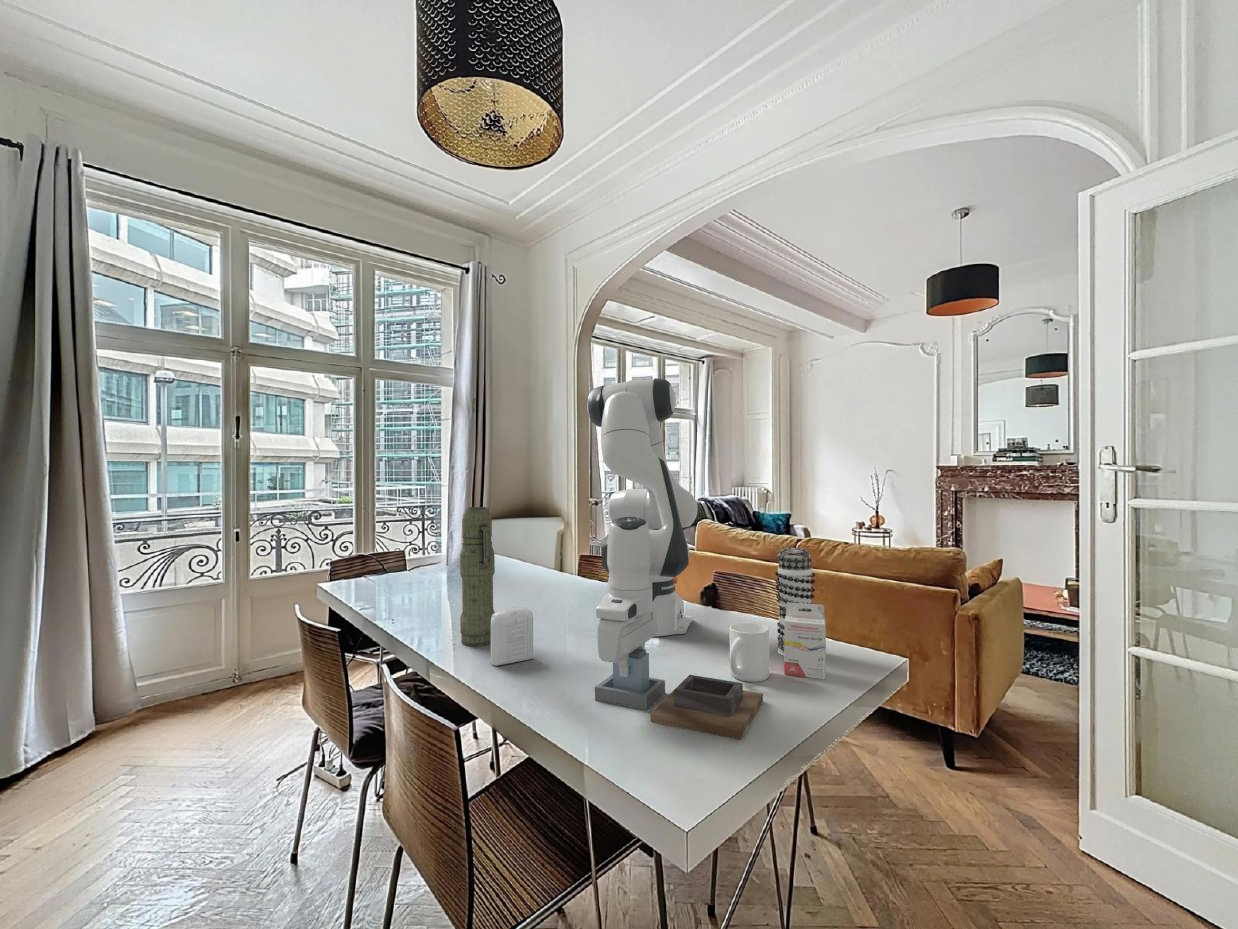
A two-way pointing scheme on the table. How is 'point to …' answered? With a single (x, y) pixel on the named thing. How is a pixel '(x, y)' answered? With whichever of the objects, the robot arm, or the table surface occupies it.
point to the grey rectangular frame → (630, 694)
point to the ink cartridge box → (805, 641)
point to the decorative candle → (793, 584)
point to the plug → (634, 673)
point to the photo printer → (511, 636)
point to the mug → (749, 652)
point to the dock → (709, 707)
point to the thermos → (476, 576)
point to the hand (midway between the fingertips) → (631, 670)
